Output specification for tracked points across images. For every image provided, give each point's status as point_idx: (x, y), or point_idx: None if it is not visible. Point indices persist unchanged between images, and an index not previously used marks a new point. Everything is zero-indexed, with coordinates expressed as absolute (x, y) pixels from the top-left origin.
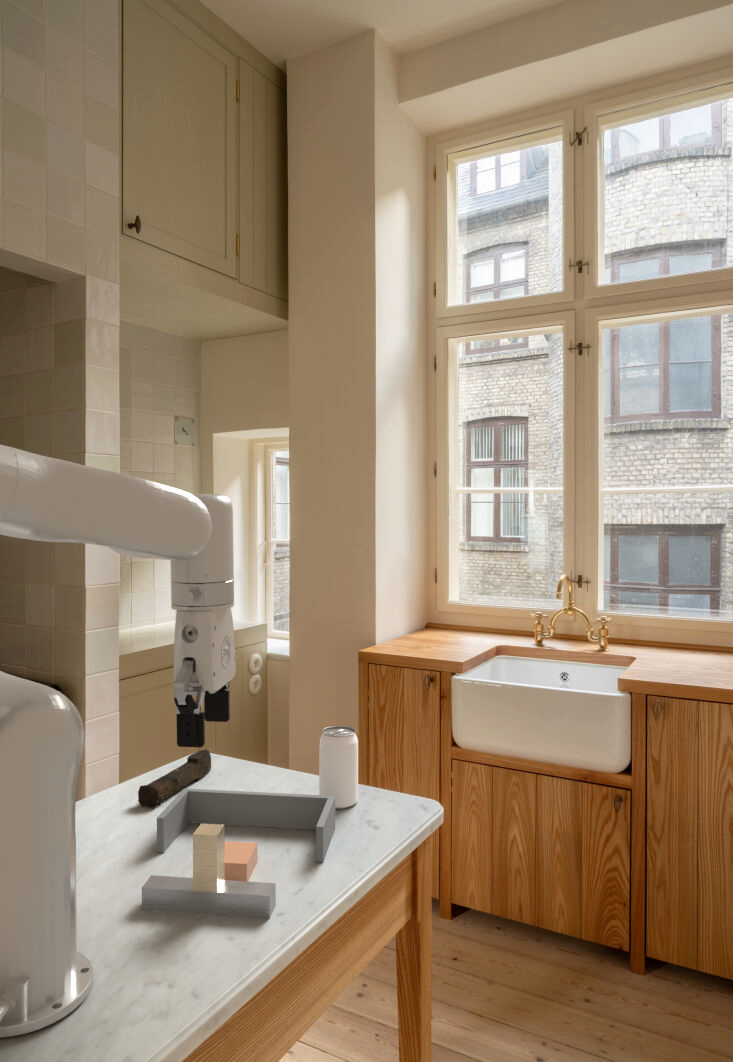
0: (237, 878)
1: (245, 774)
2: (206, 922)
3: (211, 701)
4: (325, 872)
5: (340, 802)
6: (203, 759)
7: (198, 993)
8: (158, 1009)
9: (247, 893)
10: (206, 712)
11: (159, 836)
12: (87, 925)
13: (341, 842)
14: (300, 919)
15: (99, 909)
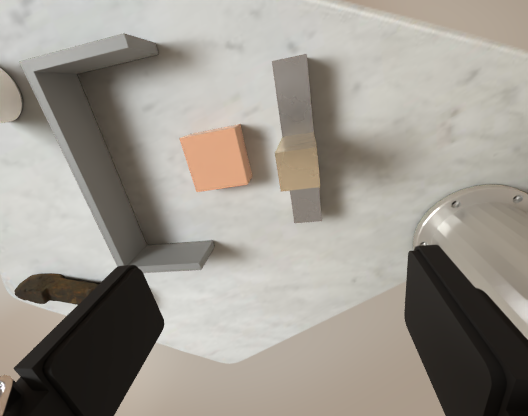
0: (241, 136)
1: (17, 237)
2: (329, 133)
3: (116, 373)
4: (177, 27)
5: (5, 79)
6: (34, 287)
7: (469, 73)
8: (499, 104)
9: (307, 90)
10: (149, 345)
11: (207, 254)
12: (356, 243)
13: (94, 38)
14: (298, 11)
15: (328, 246)
